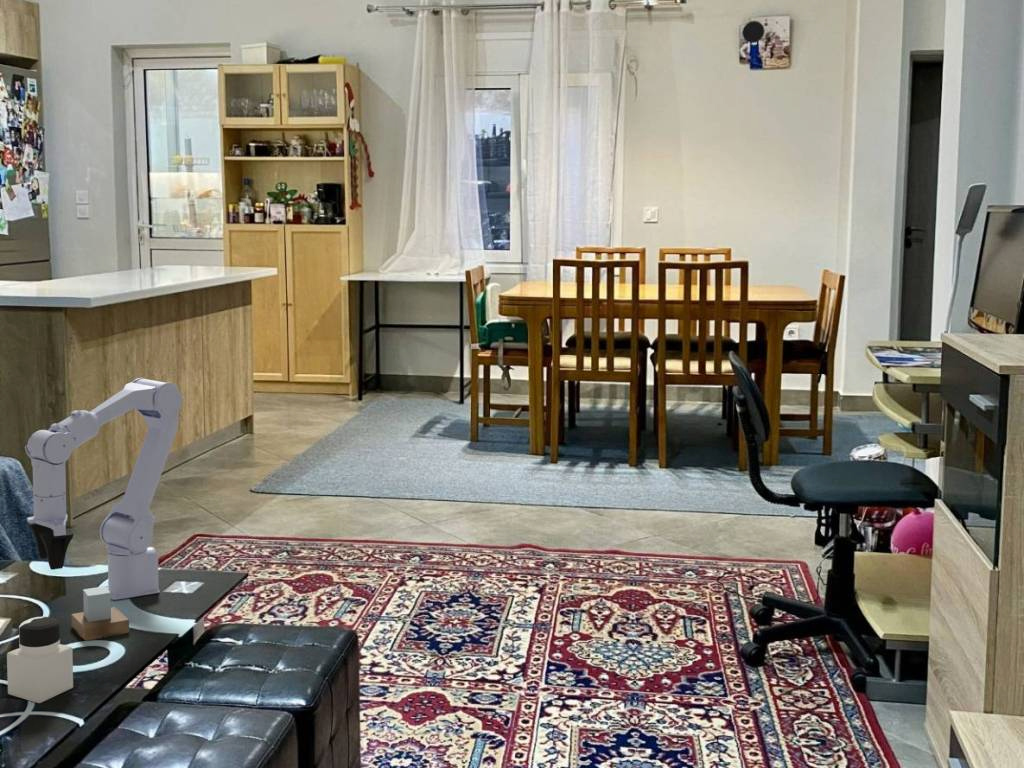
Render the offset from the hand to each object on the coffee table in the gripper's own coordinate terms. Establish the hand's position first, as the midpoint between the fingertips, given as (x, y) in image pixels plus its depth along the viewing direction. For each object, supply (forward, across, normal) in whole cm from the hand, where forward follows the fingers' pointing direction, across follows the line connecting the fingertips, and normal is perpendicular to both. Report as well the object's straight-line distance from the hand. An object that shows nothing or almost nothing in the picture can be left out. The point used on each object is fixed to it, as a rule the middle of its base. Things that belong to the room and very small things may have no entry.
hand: (51, 562), depth 212 cm
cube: (+8, +12, +5) cm, 15 cm away
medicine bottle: (+11, +34, -10) cm, 37 cm away
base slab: (+11, +12, +6) cm, 17 cm away
